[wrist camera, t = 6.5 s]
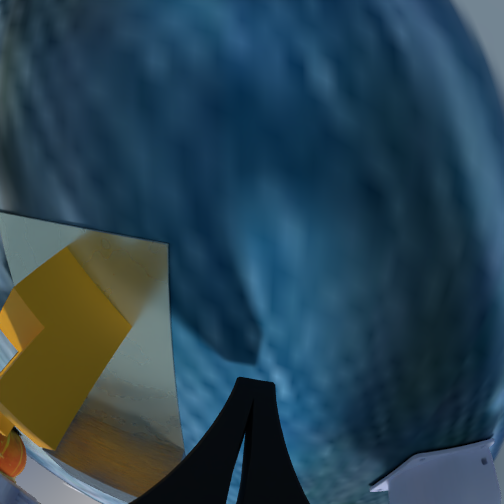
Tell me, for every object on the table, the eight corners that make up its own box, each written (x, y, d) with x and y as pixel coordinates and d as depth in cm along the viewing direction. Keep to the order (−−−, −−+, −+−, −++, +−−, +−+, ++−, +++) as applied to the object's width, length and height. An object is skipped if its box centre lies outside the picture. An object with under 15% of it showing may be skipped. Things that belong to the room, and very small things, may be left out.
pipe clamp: (66, 246, 10) (-48, 344, 4) (132, 326, 11) (55, 450, 5) (6, 328, 14) (-44, 385, 8) (46, 373, 15) (2, 435, 10)
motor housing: (168, 243, 9) (81, 346, 5) (188, 473, 19) (174, 518, 15) (-25, 206, 10) (-87, 244, 6) (66, 424, 20) (45, 460, 15)
